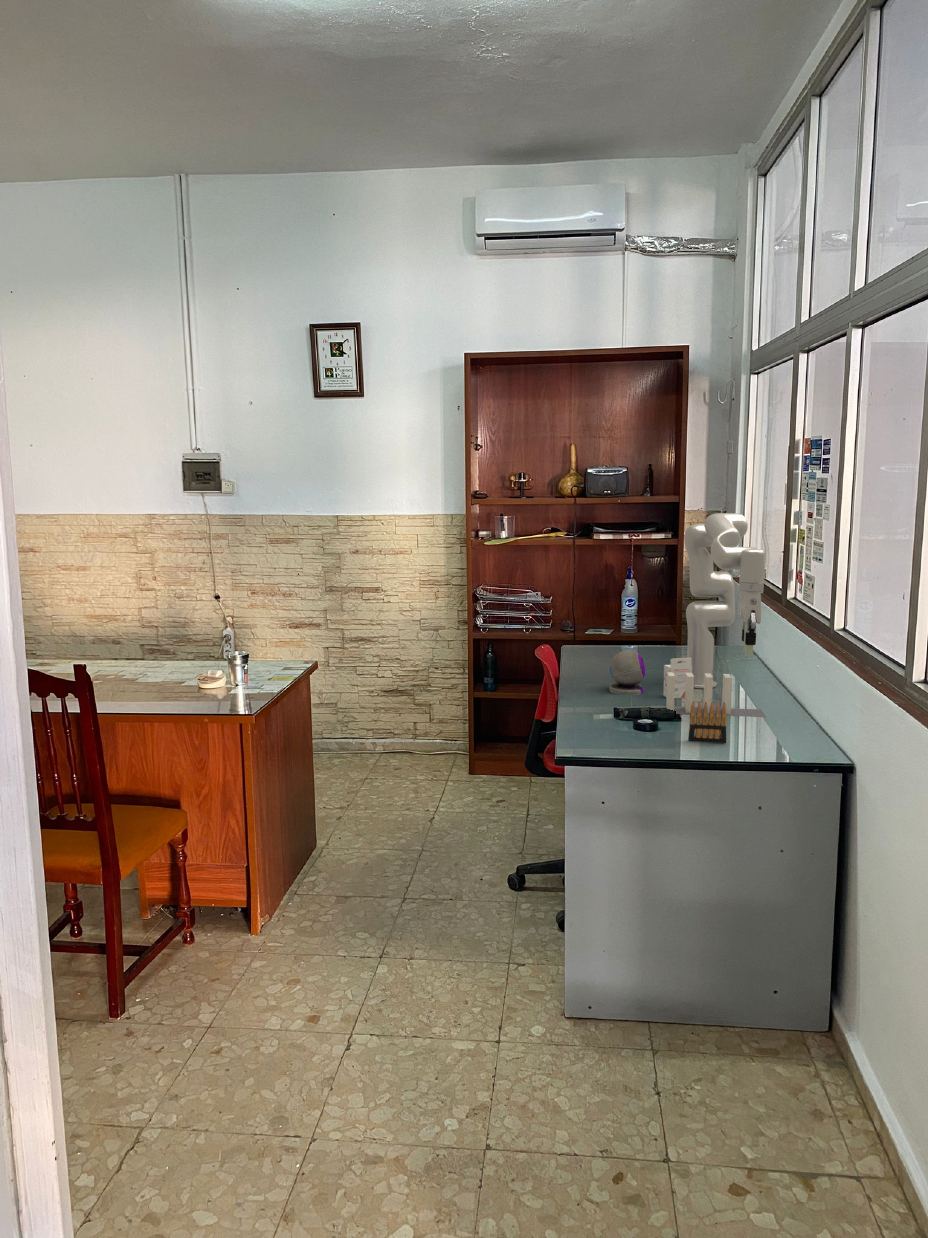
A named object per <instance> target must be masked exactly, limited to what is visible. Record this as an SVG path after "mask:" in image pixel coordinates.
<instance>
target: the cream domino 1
mask: <svg viewBox="0 0 928 1238" xmlns="http://www.w3.org/2000/svg"><path fill="white" fill-rule="evenodd" d="M674 693H675V675H674V672H667V697H666V699H665V700H666V701H665V702H666V705H665V706H666V708H667V709H670V710H673V711H674V706H675V698H674Z"/></svg>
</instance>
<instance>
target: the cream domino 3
mask: <svg viewBox="0 0 928 1238" xmlns="http://www.w3.org/2000/svg"><path fill="white" fill-rule="evenodd" d="M713 681H714V676H712V675H711V674H709V673H705V674H704V688H703V700H702V702H703V704H702V707H703V709H704V704H705V702H707V706H708V713H709V711H710V705H711V702H713V688H714V687H713Z"/></svg>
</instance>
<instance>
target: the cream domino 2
mask: <svg viewBox="0 0 928 1238" xmlns="http://www.w3.org/2000/svg"><path fill="white" fill-rule="evenodd" d="M694 689H695V688H694V676H693V674H692V673H686V683H685V698H684V707H685V711H686V713H691V705H692V702H693V701H694V691H695V690H694Z"/></svg>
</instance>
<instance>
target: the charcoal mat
mask: <svg viewBox="0 0 928 1238" xmlns="http://www.w3.org/2000/svg"><path fill="white" fill-rule="evenodd" d="M651 708H666V705H650V709H651ZM674 710H675V711H676V714H675V715H690V713H686V711H685V706H680V705H679V706H675V705H674ZM715 713H716V707H714V716H715ZM696 714H697V706H695V715H696ZM701 714H702V716H703V706H701ZM721 715H722V707H720V716H721ZM708 716H709V713H708ZM726 716H728V717H751V718H767V715H766V714H765V713H764V711H763V710H762V709H760V708H759V709H757V708H735V707H733V708H732V707H731V714H726Z"/></svg>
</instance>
